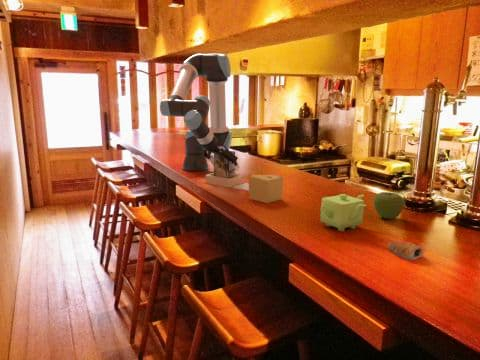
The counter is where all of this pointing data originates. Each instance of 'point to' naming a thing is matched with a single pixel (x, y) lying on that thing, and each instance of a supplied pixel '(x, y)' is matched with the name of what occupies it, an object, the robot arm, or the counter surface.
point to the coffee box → (223, 167)
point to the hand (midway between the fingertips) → (227, 167)
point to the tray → (224, 180)
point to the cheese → (265, 188)
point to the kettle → (342, 211)
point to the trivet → (243, 187)
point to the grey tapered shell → (406, 250)
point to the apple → (388, 204)
